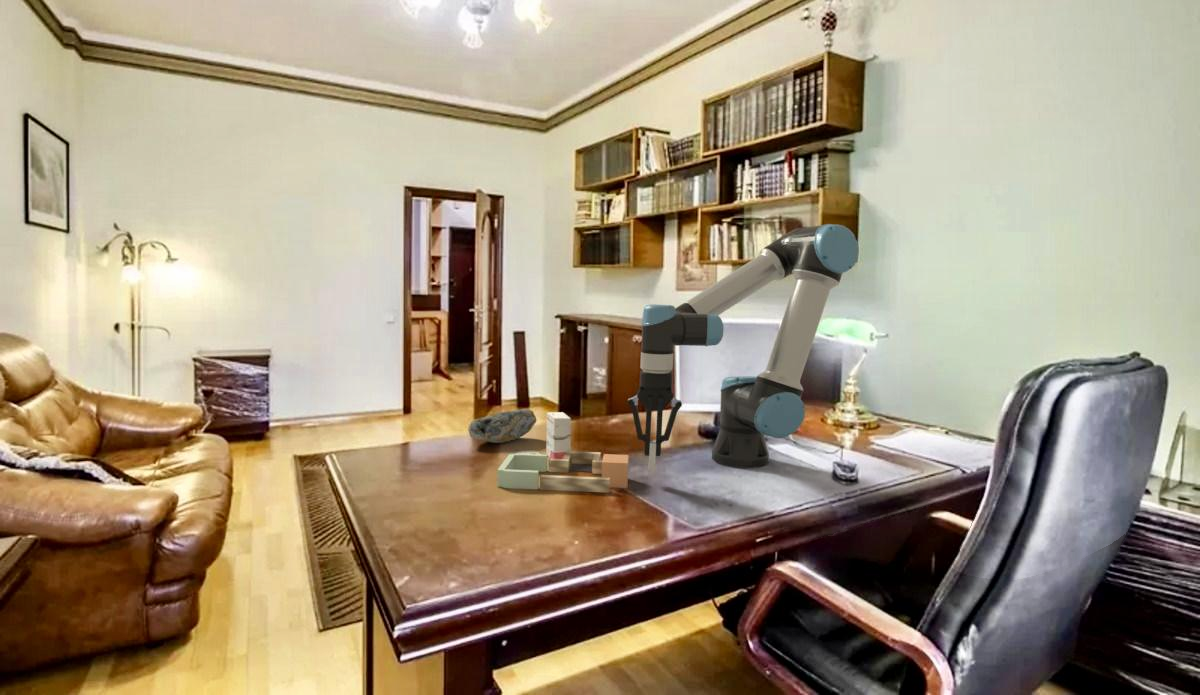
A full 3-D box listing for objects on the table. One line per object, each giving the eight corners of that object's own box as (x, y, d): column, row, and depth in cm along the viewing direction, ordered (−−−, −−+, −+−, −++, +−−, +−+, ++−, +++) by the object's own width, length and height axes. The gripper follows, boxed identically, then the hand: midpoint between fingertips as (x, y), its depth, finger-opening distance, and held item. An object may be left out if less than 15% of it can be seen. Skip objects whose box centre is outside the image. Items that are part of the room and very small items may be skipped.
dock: (547, 470, 164) (547, 454, 164) (537, 489, 149) (537, 472, 149) (510, 468, 165) (510, 453, 164) (496, 487, 150) (496, 470, 149)
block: (627, 478, 159) (628, 455, 158) (627, 488, 152) (627, 463, 151) (603, 477, 159) (603, 454, 158) (601, 487, 152) (602, 462, 152)
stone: (461, 442, 189) (461, 408, 188) (529, 434, 200) (529, 402, 198) (473, 451, 180) (473, 416, 178) (543, 443, 190) (544, 409, 189)
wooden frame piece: (613, 464, 170) (614, 452, 170) (609, 492, 148) (609, 479, 148) (553, 461, 171) (553, 450, 171) (539, 489, 149) (539, 476, 149)
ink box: (571, 461, 172) (572, 417, 171) (553, 463, 170) (554, 418, 169) (562, 452, 180) (563, 411, 179) (545, 454, 179) (546, 411, 177)
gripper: (683, 369, 155) (678, 465, 158) (628, 367, 156) (624, 462, 159) (685, 374, 148) (680, 475, 150) (627, 371, 149) (623, 472, 151)
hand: (651, 468), depth 154 cm, fingers closed
